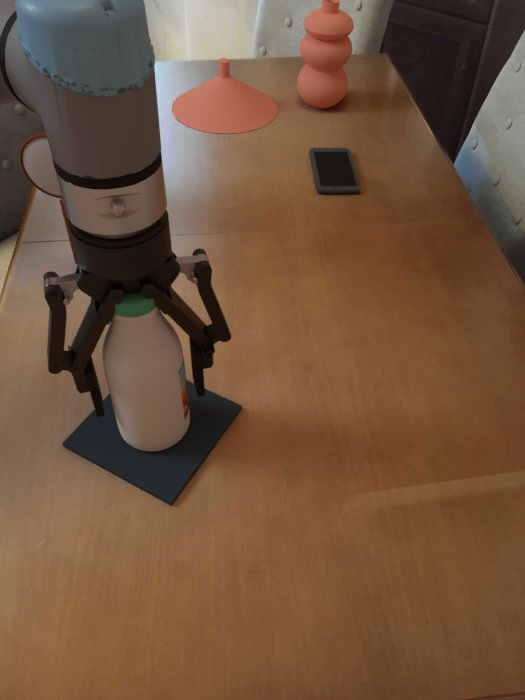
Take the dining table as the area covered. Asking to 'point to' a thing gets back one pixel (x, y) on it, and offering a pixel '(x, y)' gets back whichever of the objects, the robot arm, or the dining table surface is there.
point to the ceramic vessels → (257, 107)
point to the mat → (158, 466)
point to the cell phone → (334, 170)
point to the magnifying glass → (43, 172)
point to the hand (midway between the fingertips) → (150, 396)
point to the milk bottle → (146, 375)
